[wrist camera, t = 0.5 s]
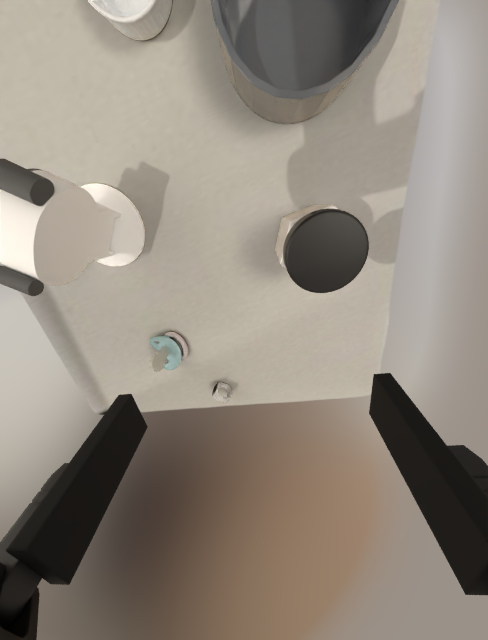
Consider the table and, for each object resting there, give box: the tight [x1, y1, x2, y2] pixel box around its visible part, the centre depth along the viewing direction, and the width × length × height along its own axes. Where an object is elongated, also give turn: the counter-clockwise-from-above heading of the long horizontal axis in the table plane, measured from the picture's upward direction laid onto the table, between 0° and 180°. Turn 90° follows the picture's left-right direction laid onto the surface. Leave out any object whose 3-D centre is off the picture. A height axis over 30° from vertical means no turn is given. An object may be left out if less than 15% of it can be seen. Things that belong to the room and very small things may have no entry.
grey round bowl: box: [211, 0, 399, 124], centre depth 21 cm, size 15×15×8 cm
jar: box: [275, 205, 369, 293], centre depth 28 cm, size 9×8×12 cm
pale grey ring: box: [212, 382, 232, 403], centre depth 45 cm, size 4×2×4 cm, turn 60°
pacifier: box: [149, 332, 188, 371], centre depth 40 cm, size 7×6×6 cm
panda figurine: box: [0, 159, 145, 296], centre depth 27 cm, size 12×11×15 cm
